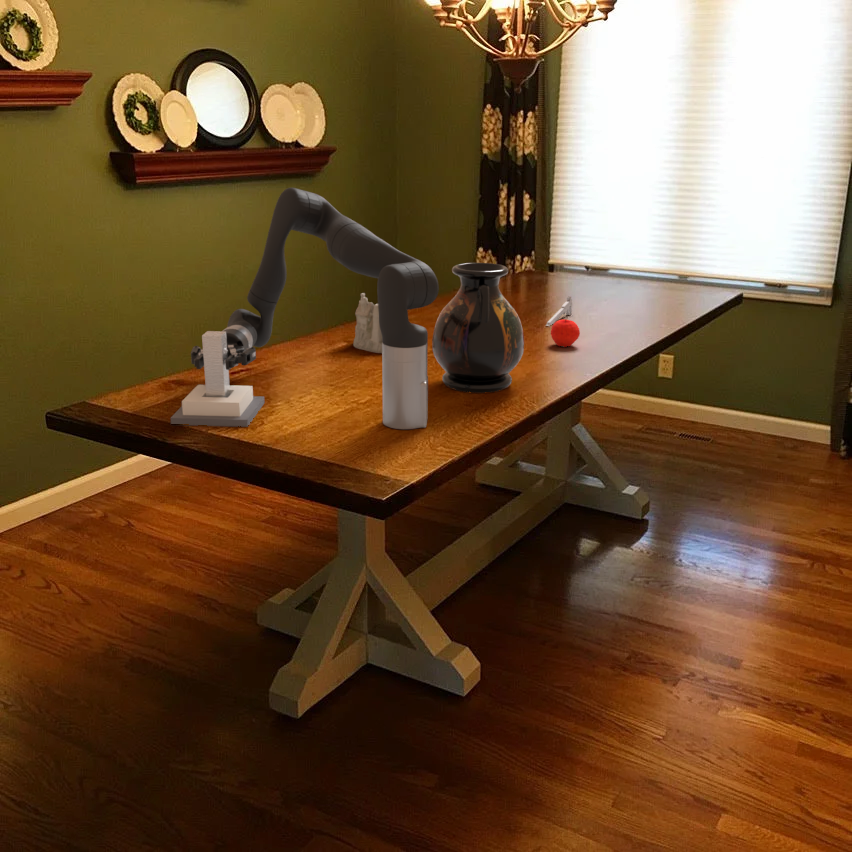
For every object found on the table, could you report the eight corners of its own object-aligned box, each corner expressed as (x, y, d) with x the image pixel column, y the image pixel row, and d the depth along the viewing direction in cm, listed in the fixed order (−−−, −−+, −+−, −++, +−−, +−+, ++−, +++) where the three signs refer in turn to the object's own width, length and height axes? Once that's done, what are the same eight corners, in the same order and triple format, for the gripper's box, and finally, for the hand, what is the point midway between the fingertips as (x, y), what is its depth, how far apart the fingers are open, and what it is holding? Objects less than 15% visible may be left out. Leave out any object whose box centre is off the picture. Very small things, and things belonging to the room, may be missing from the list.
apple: (584, 347, 256) (586, 320, 254) (563, 351, 252) (564, 324, 250) (565, 341, 263) (566, 315, 260) (543, 344, 258) (545, 318, 256)
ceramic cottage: (379, 355, 246) (380, 298, 242) (342, 345, 258) (342, 290, 254) (423, 349, 256) (425, 294, 252) (386, 340, 268) (387, 287, 264)
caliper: (568, 314, 296) (569, 295, 294) (571, 315, 296) (572, 295, 293) (545, 327, 279) (546, 306, 277) (548, 328, 278) (549, 307, 276)
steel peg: (230, 404, 201) (226, 331, 196) (226, 409, 197) (221, 336, 192) (212, 403, 201) (207, 331, 196) (207, 409, 198) (201, 335, 192)
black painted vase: (529, 397, 212) (535, 275, 203) (435, 399, 211) (436, 275, 202) (514, 371, 233) (519, 259, 223) (428, 372, 231) (429, 259, 222)
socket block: (264, 402, 207) (263, 383, 206) (247, 426, 192) (246, 405, 190) (193, 401, 208) (191, 381, 206) (171, 424, 193) (169, 404, 191)
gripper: (200, 327, 209) (177, 346, 193) (263, 328, 208) (245, 348, 192) (202, 360, 211) (179, 381, 195) (265, 361, 210) (247, 383, 194)
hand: (212, 364), depth 194 cm, fingers open, 5 cm apart
